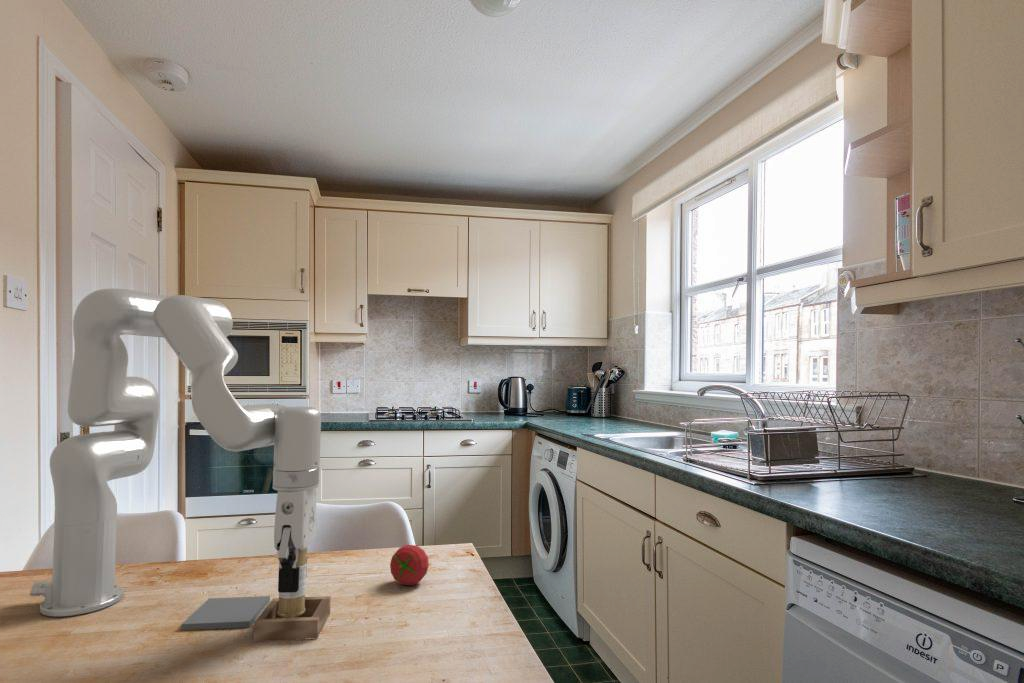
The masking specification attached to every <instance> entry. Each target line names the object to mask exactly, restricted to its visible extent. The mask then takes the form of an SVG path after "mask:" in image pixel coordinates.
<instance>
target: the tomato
mask: <svg viewBox="0 0 1024 683" xmlns="http://www.w3.org/2000/svg"><path fill="white" fill-rule="evenodd" d="M389 564H390V565H389V567H390V574H391V575H392V578H393V579H394V580H395V581H396V582H398V583H399V584H400V585H403V586H410V585H411V586H414V585H416V584H418V583H419V582H421V581H422V580H423V578H425V576H426V575H427V573H428V570H429V567H430V564H429V557H428V555H427V553H426V552H425V550H424V549H423V548H421V547H420V546H418V545H416V544H415V545H414V544H406V545H403V546H401V547H399V548H398V549H397V550H396V551H395V552H394V553H393V555H392V557H391V560H390V563H389Z"/></svg>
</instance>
